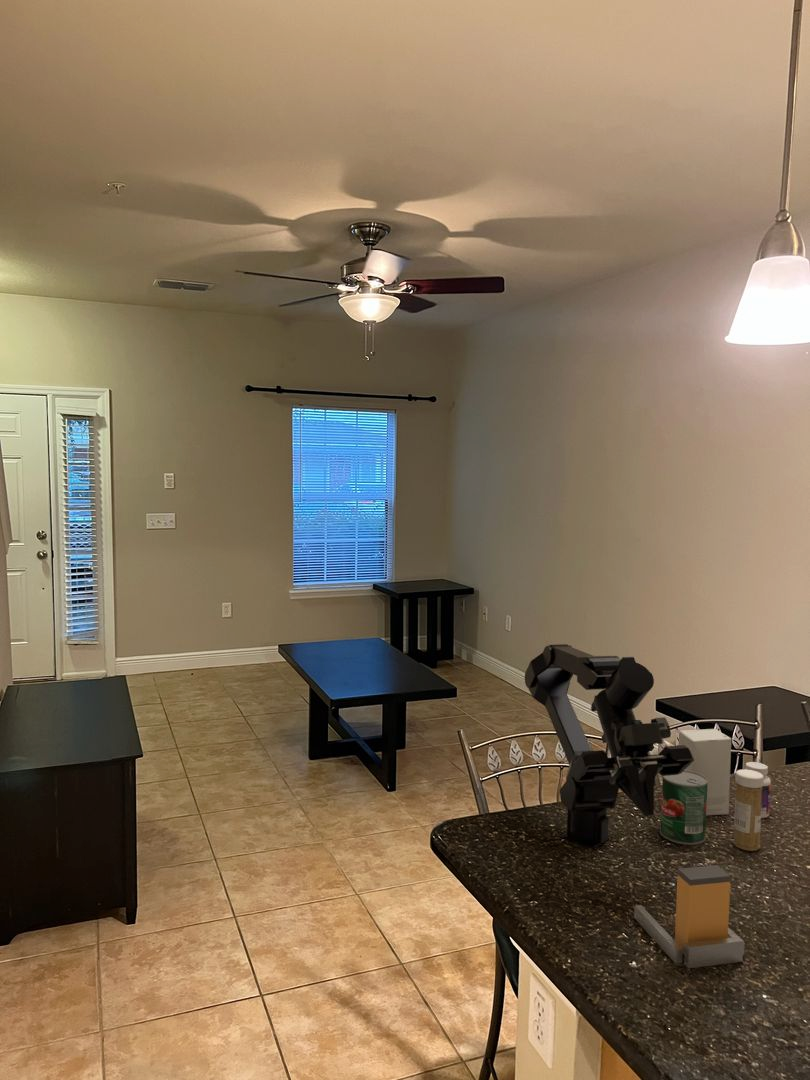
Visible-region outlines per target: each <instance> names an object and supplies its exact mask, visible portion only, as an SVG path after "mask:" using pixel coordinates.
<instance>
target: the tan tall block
mask: <svg viewBox="0 0 810 1080" xmlns="http://www.w3.org/2000/svg"><path fill="white" fill-rule="evenodd" d="M731 876H732V875H730V874H729V873H727V871H725V870H724V869H723V868H721V867H720V866H719V865H718V864H715V865H714V864H713V865H703V866H694V867H684V868H677V880H676V881H677V882H676V883H677V884H676V901H675V902H676V903H675V905H676V906H675V926H674V927H675V929H674V940H675V941H676V942H677V944H678V945H679V946H680V947H681V948H682V949H683V955H684V951H685V943H688V942H697V941H705V940H714V939H723V938H728V927H729V921H730V920H729V919H730V900H731V897H730V896H731V879H732V878H731Z"/></svg>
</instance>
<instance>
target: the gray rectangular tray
mask: <svg viewBox="0 0 810 1080" xmlns="http://www.w3.org/2000/svg"><path fill="white" fill-rule="evenodd" d="M633 919H635V920H636V921H637V922H638V924H639V925H640V926H641V927H642V928H643V930H644V931H645V932H647V934H648V935H649V936H650V937H651V938H652V939H653V940H654V942H656V944H657V945H658V946H659V947H660V948H661V950H663V951H664V952H665V954H667V956H668V957H669V958H670V960H672V962H673V963H674V964H675V965H677V964H684V965H685V967H687V969H693V968H703V967H709V966H710V967H712V966H718V965H725V964H726V965H727V964H735V963H743V958H744V957H743V956H745V945H746V944H745V943H746V942H745V941H744V940H743V939H742V938H741V937H740V936H739V935H738V934H736V933H735V932H734V931H733V930H732V929H731V928H730V927H729V926H728V938H723V939H714V940H705V941H697V942H688V943H685V951H684V954H683V949H682V948H681V947H680V946H679V945H678V944H677V942H676V941H675V938H673V937H672V936H671V935H670V934H669V933H668V932H667V931H666V929H665V928H664V927H662V926H661V924H660V923H659V922H658V921H657V920H656V919H655V918H654V917H653V916H652V915H651V914H650V913H649V912H648V910H646V909H645V907H644V906H643V905H641V904H636V905H634V913H633Z"/></svg>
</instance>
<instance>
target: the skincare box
mask: <svg viewBox="0 0 810 1080" xmlns="http://www.w3.org/2000/svg"><path fill="white" fill-rule="evenodd" d="M732 741H733V738H731V737H730V736H728V735H726V734H725V733H722V732H721V731H720V730H718V729H716V728H706V729H703V728H702V729H688V730H687V729H685V730H683V729H682V730H678V746H680V745H685V746H686V747H688V748H689V749H690V750H691V753H692V755H693V758H694V761H693V762H692V763H691V764H690V765H689V766H688V767H687V768H686V769H685V770H686V771H692V772H695V773H698V774H701V775H703V776H705V777H706V778H707V779H708V784H707V809H706V817H707V816H718V815H729V811H730V789H731V788H730V784H731V783H730V781H731V758H732V755H731V754H732V753H731V752H732Z"/></svg>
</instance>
